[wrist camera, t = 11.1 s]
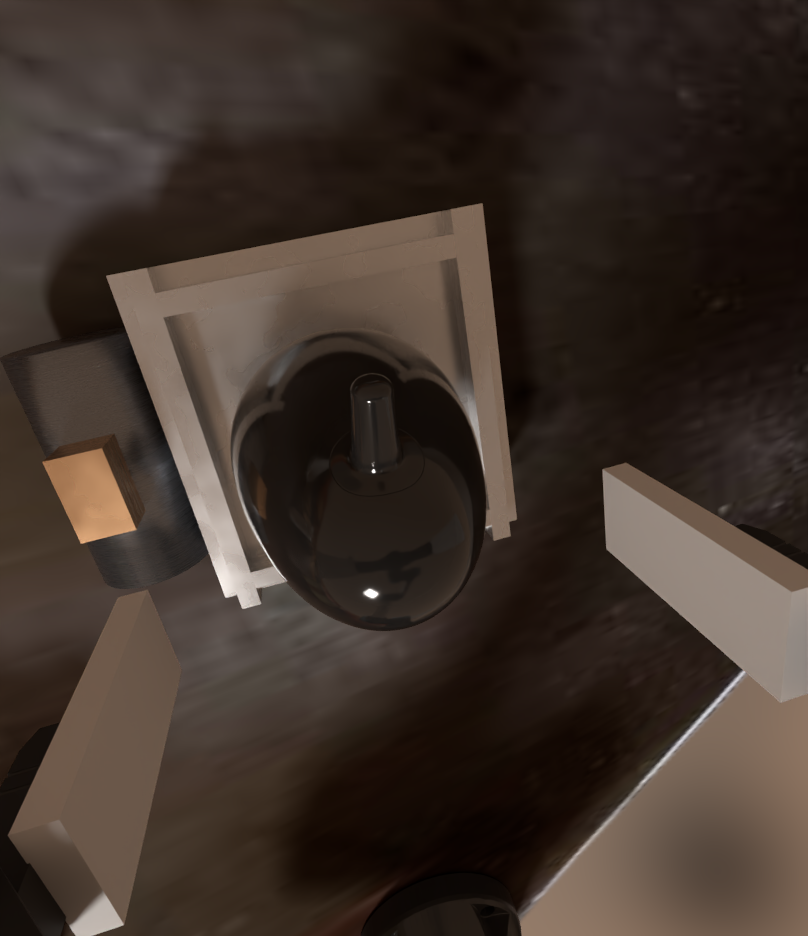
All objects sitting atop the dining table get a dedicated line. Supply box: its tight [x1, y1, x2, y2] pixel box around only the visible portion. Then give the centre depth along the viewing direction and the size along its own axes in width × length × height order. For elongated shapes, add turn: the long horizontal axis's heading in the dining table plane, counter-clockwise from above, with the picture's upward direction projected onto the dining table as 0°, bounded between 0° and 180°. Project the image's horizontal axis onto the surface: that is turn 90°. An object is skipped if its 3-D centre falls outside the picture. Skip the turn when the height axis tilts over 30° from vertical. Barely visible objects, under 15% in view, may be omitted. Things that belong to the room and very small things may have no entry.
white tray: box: [0, 203, 517, 609], centre depth 29 cm, size 17×23×8 cm
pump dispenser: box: [230, 327, 487, 631], centre depth 22 cm, size 10×10×15 cm
